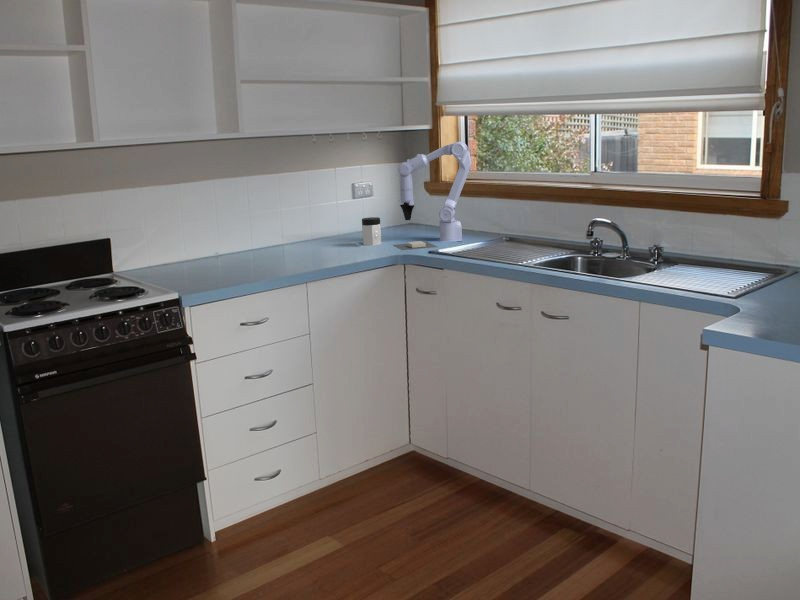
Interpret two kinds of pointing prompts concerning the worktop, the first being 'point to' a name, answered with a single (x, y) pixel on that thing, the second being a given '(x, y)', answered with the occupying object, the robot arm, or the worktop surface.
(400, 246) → the mat
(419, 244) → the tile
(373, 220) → the jar
